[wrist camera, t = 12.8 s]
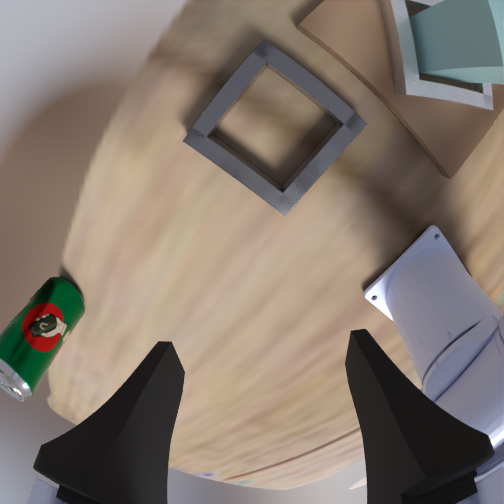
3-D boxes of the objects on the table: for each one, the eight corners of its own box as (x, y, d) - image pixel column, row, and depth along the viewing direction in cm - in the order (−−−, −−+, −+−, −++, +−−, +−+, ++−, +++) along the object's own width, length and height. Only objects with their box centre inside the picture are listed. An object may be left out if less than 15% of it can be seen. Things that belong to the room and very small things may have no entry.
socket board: (510, 84, 11) (529, 86, 9) (443, 175, 16) (462, 185, 14) (393, -51, 8) (405, -64, 6) (296, 28, 13) (301, 16, 10)
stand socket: (359, 122, 15) (367, 124, 14) (283, 207, 18) (284, 215, 17) (264, 45, 13) (263, 39, 12) (189, 138, 16) (182, 141, 15)
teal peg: (454, 31, 10) (533, 17, 3) (462, 82, 12) (548, 89, 5) (407, 18, 10) (482, -15, 3) (416, 73, 12) (503, 66, 5)
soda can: (46, 266, 22) (-28, 349, 11) (86, 283, 22) (15, 382, 12) (52, 304, 24) (-6, 384, 13) (89, 321, 25) (35, 413, 14)
